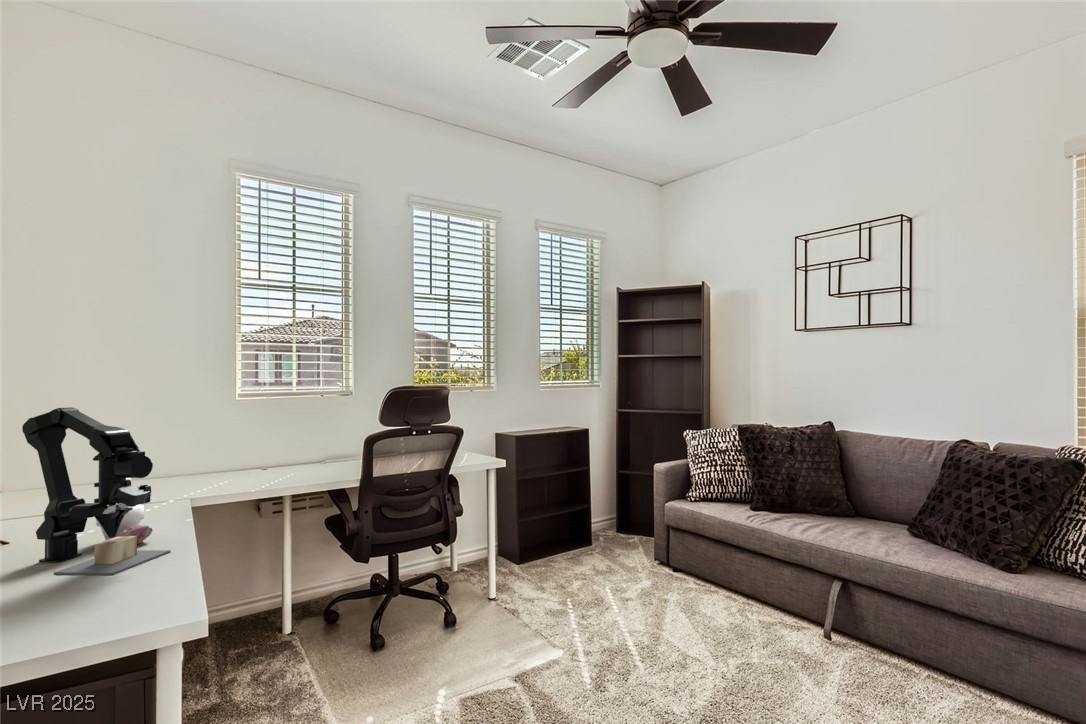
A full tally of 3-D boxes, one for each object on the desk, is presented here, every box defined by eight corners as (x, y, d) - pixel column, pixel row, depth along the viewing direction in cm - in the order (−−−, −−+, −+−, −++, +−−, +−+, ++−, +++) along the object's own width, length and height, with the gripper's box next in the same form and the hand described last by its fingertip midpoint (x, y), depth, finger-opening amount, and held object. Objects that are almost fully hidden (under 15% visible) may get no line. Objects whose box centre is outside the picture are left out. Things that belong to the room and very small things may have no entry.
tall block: (94, 544, 141) (119, 536, 148) (94, 563, 141) (119, 554, 148) (112, 544, 140) (136, 535, 148) (112, 563, 140) (136, 554, 148)
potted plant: (124, 546, 158) (124, 459, 159) (84, 547, 158) (85, 460, 159) (156, 534, 171) (156, 454, 172) (119, 535, 171) (119, 455, 172)
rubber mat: (53, 574, 135) (53, 572, 135) (117, 552, 152) (117, 550, 152) (113, 574, 133) (113, 572, 133) (170, 552, 151) (170, 550, 151)
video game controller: (117, 556, 153) (126, 534, 153) (105, 549, 154) (114, 526, 154) (149, 546, 163) (158, 525, 163) (137, 539, 164) (146, 518, 163)
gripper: (109, 483, 134) (108, 548, 133) (168, 471, 152) (168, 528, 152) (67, 484, 135) (67, 548, 134) (131, 472, 153) (131, 528, 153)
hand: (112, 537), depth 143 cm, fingers closed
